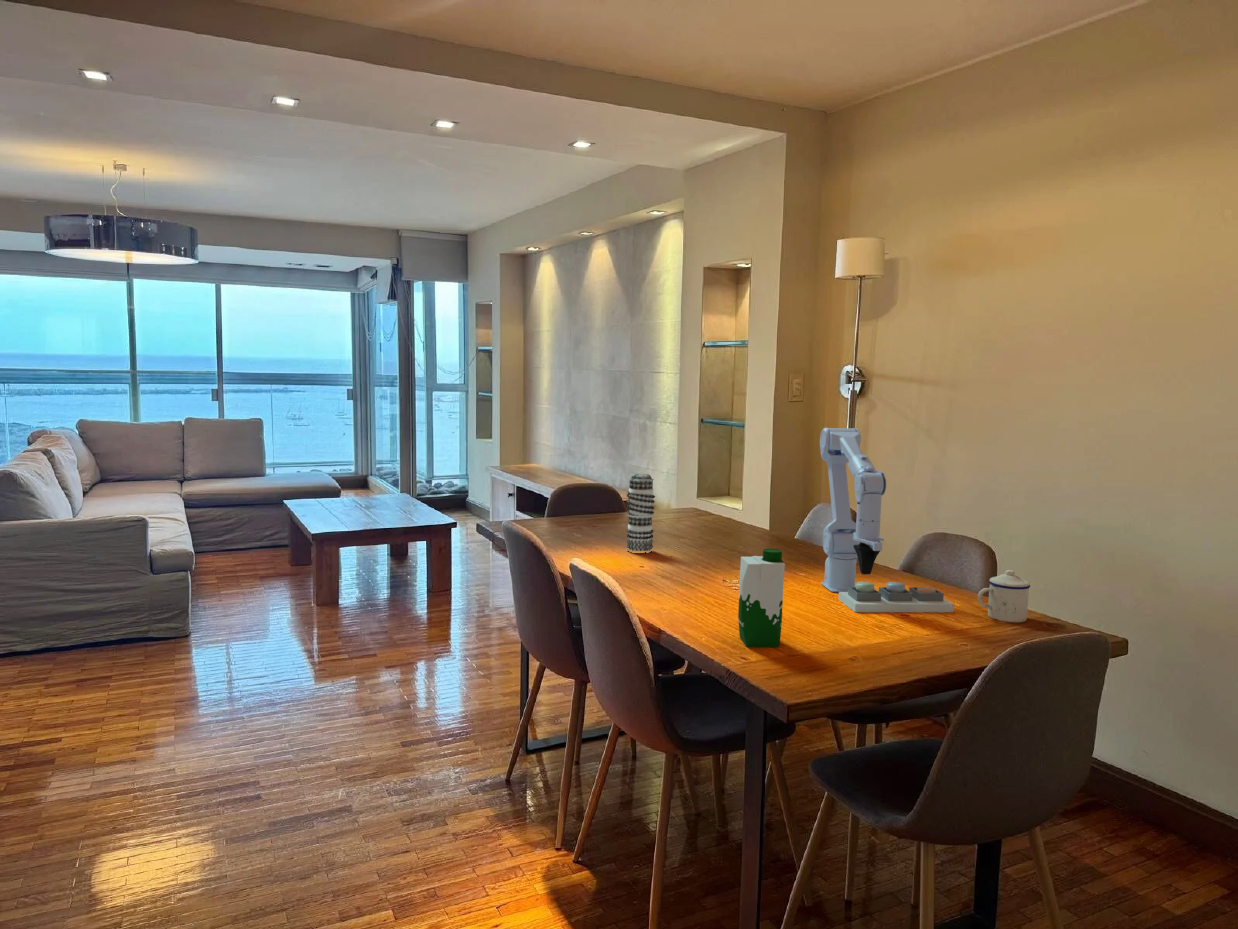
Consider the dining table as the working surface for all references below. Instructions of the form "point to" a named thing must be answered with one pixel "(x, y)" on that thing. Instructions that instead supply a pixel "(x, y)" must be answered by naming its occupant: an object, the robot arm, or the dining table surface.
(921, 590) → the terracotta button
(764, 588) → the milk carton
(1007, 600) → the teacup with lid
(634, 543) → the decorative candle
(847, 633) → the dining table surface
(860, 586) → the sage button
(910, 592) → the button console
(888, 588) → the dusty blue button
